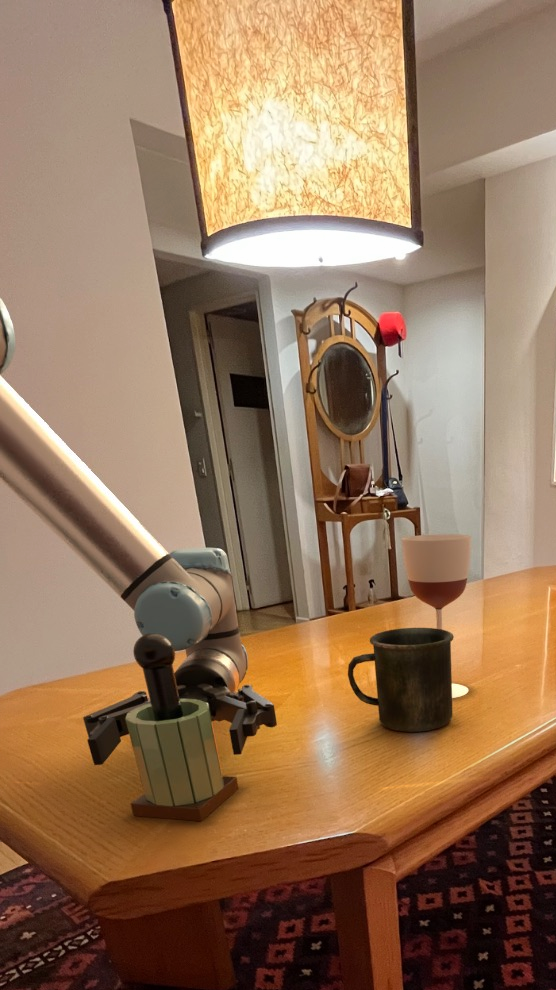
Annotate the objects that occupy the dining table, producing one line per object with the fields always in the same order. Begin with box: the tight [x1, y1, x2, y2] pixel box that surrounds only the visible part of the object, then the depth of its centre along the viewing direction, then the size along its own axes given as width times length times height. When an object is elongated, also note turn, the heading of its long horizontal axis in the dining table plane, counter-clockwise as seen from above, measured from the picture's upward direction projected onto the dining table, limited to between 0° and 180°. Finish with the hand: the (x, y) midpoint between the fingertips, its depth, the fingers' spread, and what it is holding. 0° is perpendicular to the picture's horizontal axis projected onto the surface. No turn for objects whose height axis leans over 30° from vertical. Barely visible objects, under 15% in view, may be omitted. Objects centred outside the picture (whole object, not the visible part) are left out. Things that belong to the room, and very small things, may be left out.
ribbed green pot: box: [126, 699, 224, 806], centre depth 71 cm, size 8×8×9 cm
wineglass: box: [401, 533, 472, 699], centre depth 103 cm, size 9×10×23 cm
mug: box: [347, 627, 455, 733], centre depth 92 cm, size 11×15×12 cm
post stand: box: [130, 633, 239, 822], centre depth 70 cm, size 8×8×18 cm
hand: (165, 747), depth 68 cm, fingers open, 13 cm apart
